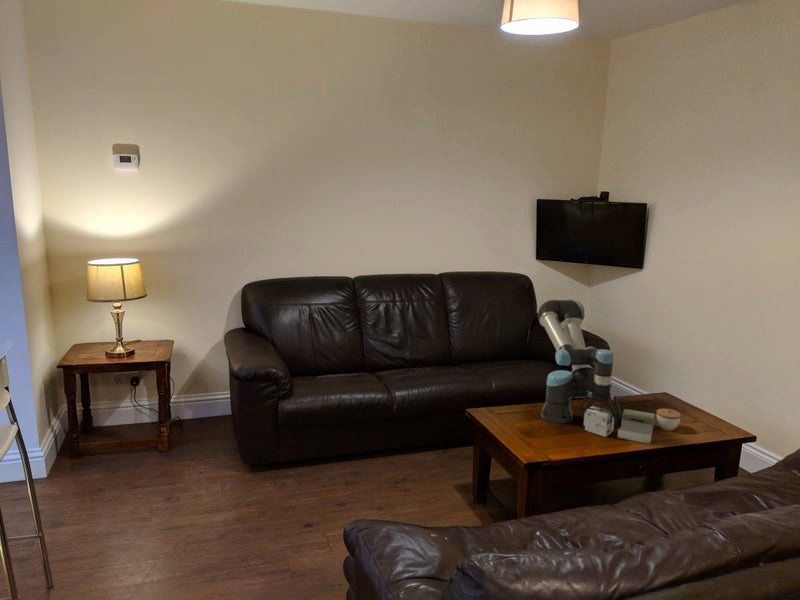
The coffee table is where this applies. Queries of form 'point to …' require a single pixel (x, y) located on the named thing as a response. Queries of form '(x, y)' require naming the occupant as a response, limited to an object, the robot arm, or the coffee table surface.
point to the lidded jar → (668, 418)
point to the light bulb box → (598, 421)
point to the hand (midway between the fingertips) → (598, 427)
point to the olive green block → (638, 416)
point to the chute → (635, 431)
